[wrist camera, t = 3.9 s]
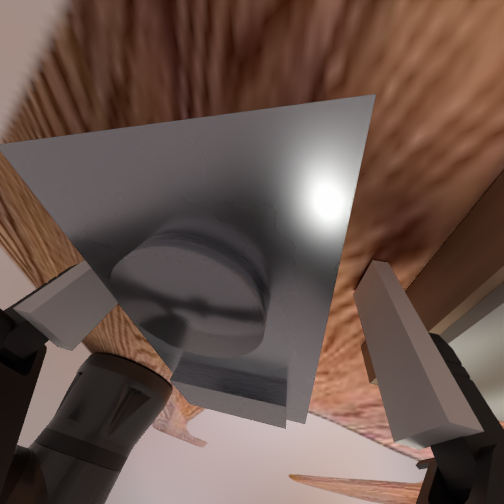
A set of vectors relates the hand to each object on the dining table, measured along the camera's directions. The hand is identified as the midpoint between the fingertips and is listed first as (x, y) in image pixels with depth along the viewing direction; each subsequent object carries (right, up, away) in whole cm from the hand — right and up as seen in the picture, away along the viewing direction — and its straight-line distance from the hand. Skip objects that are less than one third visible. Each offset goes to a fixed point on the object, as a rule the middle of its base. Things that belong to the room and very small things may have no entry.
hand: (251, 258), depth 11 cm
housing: (0, 0, 0) cm, 0 cm away
